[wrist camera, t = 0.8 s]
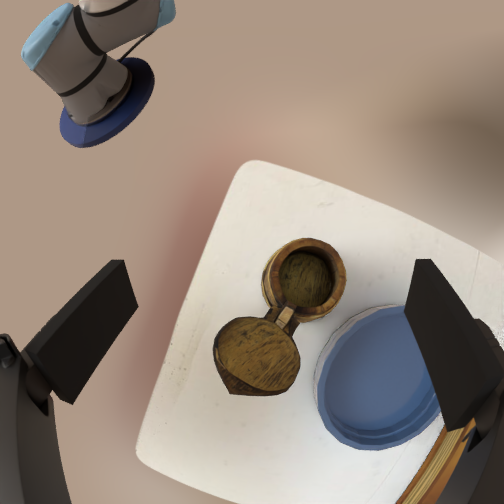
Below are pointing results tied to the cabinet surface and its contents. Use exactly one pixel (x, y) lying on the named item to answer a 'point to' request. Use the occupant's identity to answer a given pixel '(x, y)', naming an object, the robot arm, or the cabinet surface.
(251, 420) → the cabinet surface
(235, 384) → the wooden mug
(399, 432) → the bowl
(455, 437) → the diary
